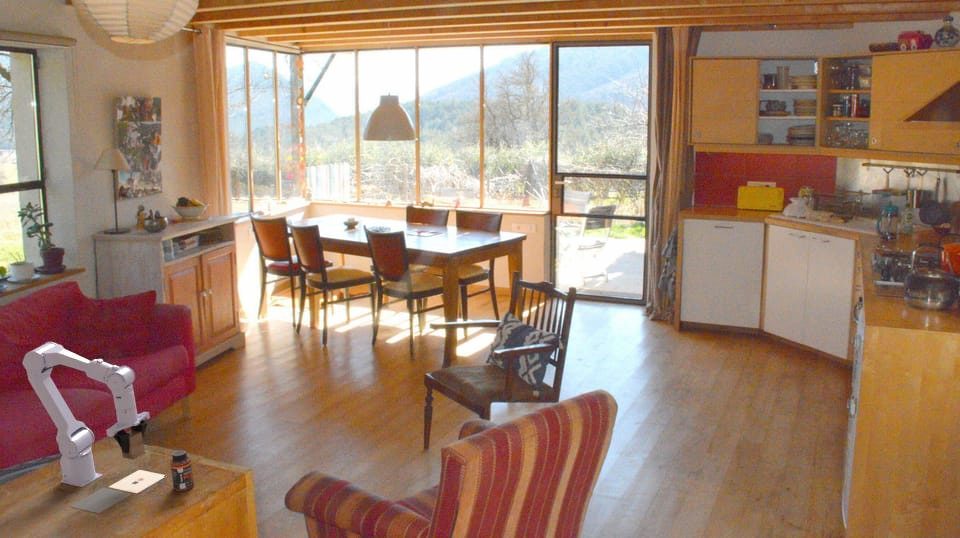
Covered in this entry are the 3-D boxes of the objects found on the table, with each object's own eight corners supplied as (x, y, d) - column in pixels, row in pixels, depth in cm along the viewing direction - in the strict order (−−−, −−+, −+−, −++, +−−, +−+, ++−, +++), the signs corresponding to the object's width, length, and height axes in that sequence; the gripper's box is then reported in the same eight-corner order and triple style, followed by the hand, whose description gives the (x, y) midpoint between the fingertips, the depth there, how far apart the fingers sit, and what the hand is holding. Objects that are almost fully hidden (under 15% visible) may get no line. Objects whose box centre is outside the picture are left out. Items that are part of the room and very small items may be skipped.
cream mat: (108, 487, 268) (108, 486, 268) (139, 470, 278) (139, 469, 278) (136, 493, 262) (136, 493, 262) (167, 476, 273) (167, 475, 272)
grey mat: (69, 507, 257) (69, 506, 257) (103, 488, 267) (103, 487, 267) (98, 514, 251) (98, 513, 251) (131, 494, 262) (131, 494, 262)
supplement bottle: (188, 492, 261) (182, 457, 258) (170, 492, 262) (164, 457, 259) (198, 483, 266) (193, 448, 264) (180, 482, 268) (175, 448, 265)
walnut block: (122, 457, 268) (119, 436, 266) (134, 451, 272) (131, 430, 270) (133, 459, 266) (129, 438, 264) (145, 453, 270) (141, 432, 268)
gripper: (115, 418, 257) (123, 461, 260) (154, 400, 270) (160, 441, 273) (98, 415, 260) (106, 457, 264) (137, 397, 273) (144, 438, 276)
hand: (132, 449), depth 268 cm, fingers closed on walnut block, 4 cm apart
